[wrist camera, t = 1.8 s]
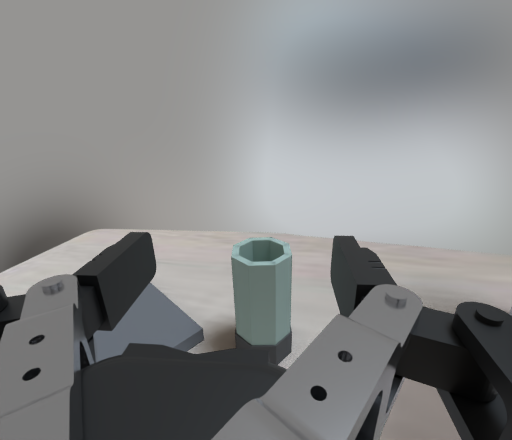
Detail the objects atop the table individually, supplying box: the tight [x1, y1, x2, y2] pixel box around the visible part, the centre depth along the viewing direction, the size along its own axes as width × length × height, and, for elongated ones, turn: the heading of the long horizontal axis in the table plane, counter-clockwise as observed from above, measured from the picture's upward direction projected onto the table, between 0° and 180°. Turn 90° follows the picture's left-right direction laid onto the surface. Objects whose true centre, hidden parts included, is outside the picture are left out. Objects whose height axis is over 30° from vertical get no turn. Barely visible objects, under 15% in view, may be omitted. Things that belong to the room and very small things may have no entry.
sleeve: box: [231, 237, 292, 365], centre depth 27 cm, size 6×6×11 cm
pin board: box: [94, 283, 204, 361], centre depth 26 cm, size 22×16×6 cm
